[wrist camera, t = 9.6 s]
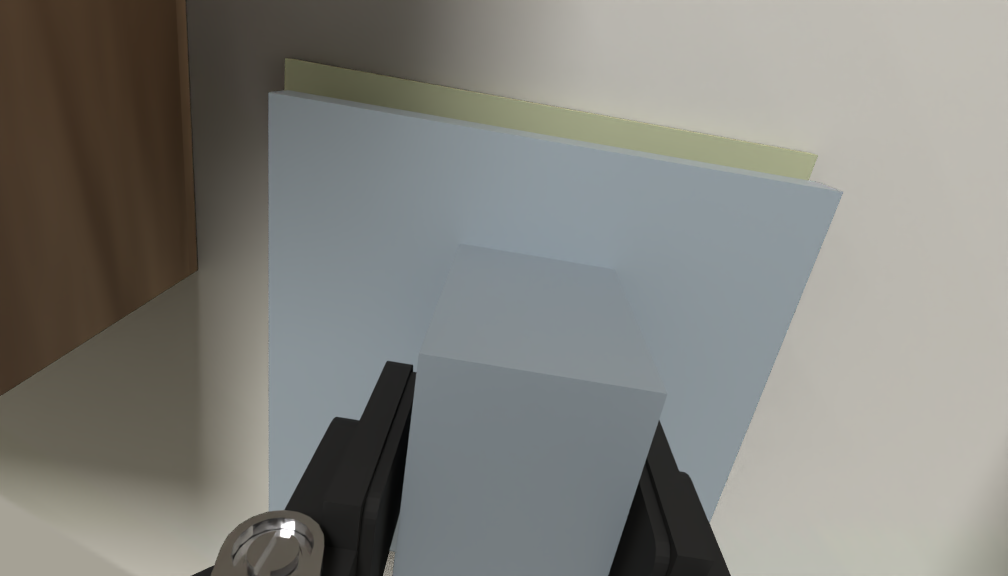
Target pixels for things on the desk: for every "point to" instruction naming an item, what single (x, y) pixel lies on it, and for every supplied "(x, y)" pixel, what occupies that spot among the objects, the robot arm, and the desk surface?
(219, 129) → the desk surface
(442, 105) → the felt mat
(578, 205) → the lid
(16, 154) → the walnut box
